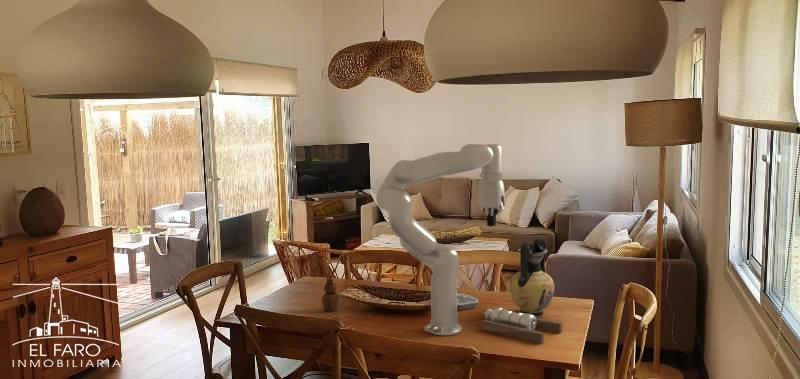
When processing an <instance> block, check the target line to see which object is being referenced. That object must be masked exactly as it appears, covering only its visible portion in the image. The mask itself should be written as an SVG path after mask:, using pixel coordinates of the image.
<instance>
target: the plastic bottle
mask: <svg viewBox="0 0 800 379" xmlns="http://www.w3.org/2000/svg"><path fill="white" fill-rule="evenodd" d="M484 318H485V319H486V320H489V321H493V322H498V323H502V324H507V325H511V326H516V327H520V328H525V329H530V330H534V331H536V330H535V328H536V324H537V320H536V317H535V316H534V315H532V314H528V313H524V314H523V313H519V312H516V311H511V310H508V309H505V308H503V307H497V308H495V309H492V308H486V310H485V311H484Z"/></svg>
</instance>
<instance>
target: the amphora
mask: <svg viewBox="0 0 800 379" xmlns="http://www.w3.org/2000/svg"><path fill="white" fill-rule="evenodd" d="M548 252H549V250H548V249H547V243H546V240H545V239H544V238H543V237H537V238H535V239H534V241H533V242H531V241H524V242H522V243H521V246H520V248H518V249H517V253H519V254H520V255H519V256H520V257H519V258H520V259H519V260H520V271H517V272H516V273H515V274H514V275H513V276H512V277H511V279H510V281H509V290H510V295H511V298H512V300H513V302H514V304H515V305H516V306H517V307H518V308H519V310H520V311H519V312H518V313H523V314H524V313H528V314H532V315H534V316H535V317H536V318H541V317H543V316H544V310H545V309H547V307H548V306H549V305H550V303H551V302H552V300H553V297H554V294H555V283H554V280H553V278H552V277H551V276H550V275H549V274H548V273H547V272H546V269H545V264H546V254H548Z"/></svg>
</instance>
